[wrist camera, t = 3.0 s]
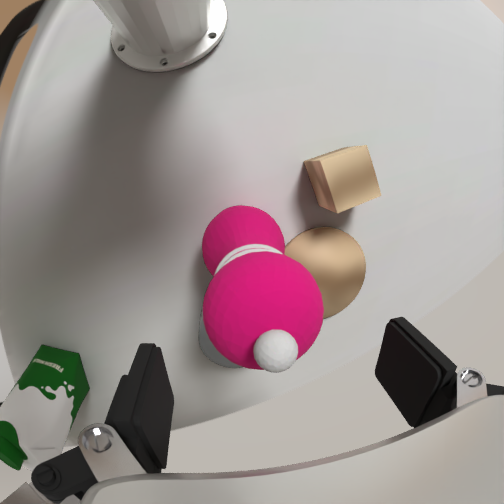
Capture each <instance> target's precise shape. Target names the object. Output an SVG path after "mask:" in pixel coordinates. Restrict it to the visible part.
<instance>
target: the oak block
mask: <svg viewBox="0 0 504 504" xmlns="http://www.w3.org/2000/svg"><path fill="white" fill-rule="evenodd" d="M304 164H305V167H306V169H307V172H308V175H309V178H310V181H311V184H312V187H313V190H314V192H315V195H316V198H317V201H318V205H319V206H321V207H323V208H325V209H328V210H330V211H333V212H335V213H340V212H342V211H345V210H347V209H350V208H352V207H355V206H357V205H360V204H362V203H364V202H367V201H369V200H372V199H374V198H377V197H379V196H381V193H380V189H379V185H378V181H377V178H376V174H375V171H374V167H373V164H372V160H371V157H370V154H369V151H368V148H367V145H364V146H354V147H345V148H341V149H338V150H335V151H332V152H329V153H326V154H323V155H320V156H317V157H315V158H312V159H309V160H306V161H304Z"/></svg>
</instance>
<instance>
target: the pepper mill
mask: <svg viewBox="0 0 504 504" xmlns="http://www.w3.org/2000/svg"><path fill="white" fill-rule="evenodd" d="M202 251H203V258H204V262H205V264H206V266H207V268H208V270H209V272H210V273H211V274H212V275H213V279H212V280H211V282H210V283H209V286H208V288H207V291H206V294H205V296H204V302H203V322H204V325H205V329H206V332H207V334H208V337H209V339H210V341H211V342H212V344H213V345H214V347H215V348H216V350H217V351H218V352H219V353H221V354H222V355H223V356H224V357H225V358H227V359H228V360H229V361H231V362H233V363H235V364H237V365H239V366H242V367H245V368H249V369H258V370H266V371H269V372H275V373H277V372H282V371H285V370H287V369H289V368H290V367H291V366H292V365H293V364H294V362H295V361H296V360H297V359H298V358H300V357H301V356H302V355H303V354H304V353H306V352H307V351H308V349H309V348H310V347H311V346H312V344H313V343H314V341H315V339H316V338H317V336H318V334H319V332H320V329H321V326H322V322H323V314H324V306H323V300H322V294H321V292H320V290H319V287H318V285H317V283H316V281H315V279H314V278H313V276H312V275H311V273H310V272H309V271H308V270H307V269H306V268H305V267H304V266H303V265H302V264H301V263H299V262H297V261H296V260H294V259H292V258H290V257H288V256H286V255H285V254H284V253H285V243H284V237H283V235H282V232H281V230H280V228H279V226H278V225H277V223H276V222H275V220H274V219H273V218H272V217H271V216H270V215H268V214H267V213H266V212H264V211H262V210H260V209H258V208H254V207H250V206H232V207H229V208H227V209H225V210H223V211H222V212H220V213H219V214H218V215H217V216H216V217H215V218H214V219H213V220H212V221H211V222H210V224H209V225H208V227H207V228H206V231H205V233H204V236H203V241H202Z"/></svg>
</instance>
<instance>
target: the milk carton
mask: <svg viewBox="0 0 504 504" xmlns="http://www.w3.org/2000/svg"><path fill="white" fill-rule="evenodd" d="M89 389H90V388H89V385H88V382H87V379H86V376H85V372H84V369H83V366H82V362H81V359H80V355H79V353H74V352H70V351H65V350H61V349H57V348H53V347H49V346H45V345H41V347H40V348H39V350H38V351H37V353H36V354H35V356H34V357H33V359H32V361H31V362H30V364H29V366H28V367H27V369H26V370H25V371H24V373H23V374H22V376H21V377H20V379H19V380H18V381H17V383H16V384H15V386H14V388H13V389H12V390H11V392H10V393H9V395H8V396H7V398H6V399H5V401H4V402H3V404H2V405H1V407H0V460H2V461H3V462H4V463H6V464H7V465H9V466H10V467H12V468H14V469H16V470H20V469H21V466H22V467H24V468H26V469H29V470H30V471H32V472H33V469H34V468H35V467H36V466H37V465H39V464H40V463H42V462H45V461H47V460H49V459H52V458H54V457H56V456H58V455H60V454H61V453H62V450H63V447H64V444H65V442H66V439H67V437H68V434H69V432H70V429H71V427H72V424H73V422H74V419H75V417H76V415H77V412H78V410H79V408H80V405H81V403H82V402H83V400H84V398H85V396H86V395H87V393H88V391H89Z"/></svg>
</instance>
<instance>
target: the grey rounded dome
mask: <svg viewBox="0 0 504 504" xmlns="http://www.w3.org/2000/svg"><path fill="white" fill-rule="evenodd" d="M199 344H200V347H201V350H202V351H203V353H204V354H205V355H206V357H208V358H209V359H210V360H211V361H213V362H214V363H216V364H218V365H221V366H224V367H229V368H242V366H239V365H237V364H235V363H233V362H231V361H229V360H228V359H227V358H225V357H224V356H223V355H222V354H221V353H219V352H218V351H217V350H216V348H215V347H214V345H213V344H212V342H211V341H210V339H209V337H208V334H207V332H206V329H205V325H204V322H203V309H202V311H201V315H200V326H199Z"/></svg>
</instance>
